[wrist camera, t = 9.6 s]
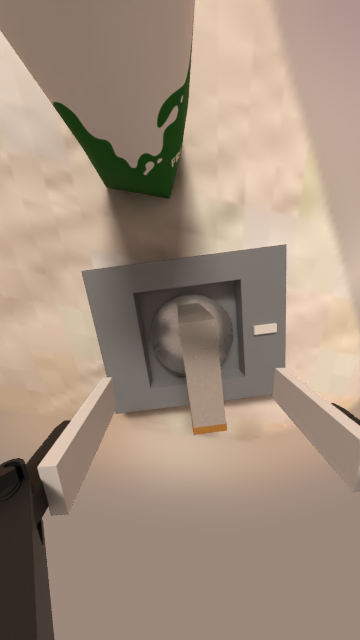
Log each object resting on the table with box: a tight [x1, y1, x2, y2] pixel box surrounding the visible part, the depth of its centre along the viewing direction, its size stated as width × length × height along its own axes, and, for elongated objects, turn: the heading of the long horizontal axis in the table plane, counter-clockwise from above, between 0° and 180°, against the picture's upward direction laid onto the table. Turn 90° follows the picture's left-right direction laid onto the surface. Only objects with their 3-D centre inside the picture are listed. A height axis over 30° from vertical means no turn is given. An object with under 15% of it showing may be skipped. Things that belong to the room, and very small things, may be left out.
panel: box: [81, 244, 286, 414], centre depth 21 cm, size 22×18×3 cm
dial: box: [151, 294, 234, 435], centre depth 17 cm, size 10×10×10 cm
